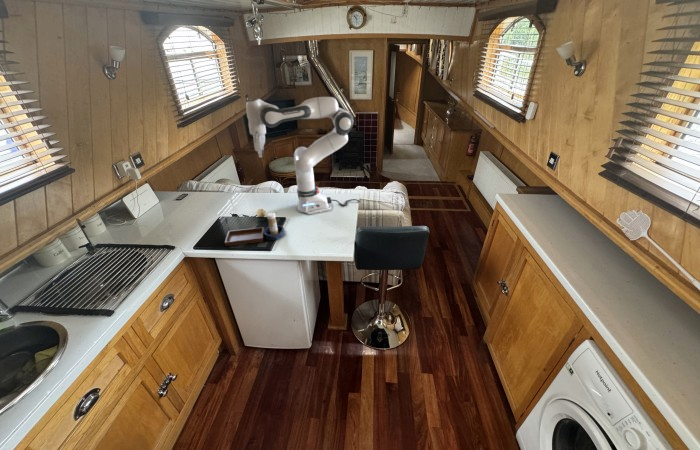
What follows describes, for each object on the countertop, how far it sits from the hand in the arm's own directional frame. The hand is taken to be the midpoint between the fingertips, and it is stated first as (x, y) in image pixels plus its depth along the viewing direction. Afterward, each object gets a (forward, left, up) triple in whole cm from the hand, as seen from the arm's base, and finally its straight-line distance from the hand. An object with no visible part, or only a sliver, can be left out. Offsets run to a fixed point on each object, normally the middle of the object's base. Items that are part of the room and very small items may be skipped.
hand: (261, 154), depth 165 cm
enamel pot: (-3, +27, -38) cm, 47 cm away
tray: (+13, +27, -38) cm, 49 cm away
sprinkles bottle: (-3, +27, -39) cm, 47 cm away
